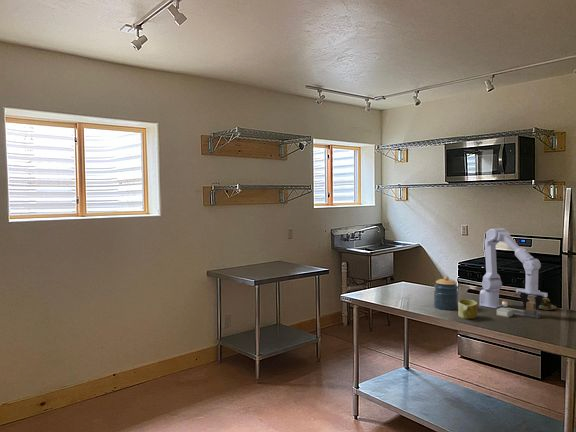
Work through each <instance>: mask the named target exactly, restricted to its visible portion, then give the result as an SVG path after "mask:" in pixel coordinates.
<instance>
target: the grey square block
mask: <svg viewBox="0 0 576 432" xmlns="http://www.w3.org/2000/svg"><path fill="white" fill-rule="evenodd" d="M513 309H514V308H513ZM513 309H507V308H501V307H498V308H495V311H496V312H495V313H496V316H498V317H504V318H510V317H512V316H514V313H513Z"/></svg>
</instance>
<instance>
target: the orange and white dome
mask: <svg viewBox="0 0 576 432" xmlns="http://www.w3.org/2000/svg"><path fill="white" fill-rule="evenodd" d="M508 303H509V302H508V300H501V305H502V306H501V307H503V306H508V307H509V304H508Z"/></svg>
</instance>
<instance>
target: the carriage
mask: <svg viewBox="0 0 576 432" xmlns="http://www.w3.org/2000/svg"><path fill="white" fill-rule="evenodd" d="M535 305H536V302H535V301H530V300H528V301H527V302H526V308H525V309H523V310H524V315H523V317H524V316H525V317H530V318H535V313H536V312H538V311H539V309H538V310H535Z"/></svg>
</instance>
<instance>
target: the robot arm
mask: <svg viewBox="0 0 576 432" xmlns="http://www.w3.org/2000/svg"><path fill="white" fill-rule="evenodd" d="M499 242H503V243H505V244H506V245H507V246H508V247H509V248H510V249H511V250H512V251H513V252H514V256H515V257H516V258H517V259H518V260H519V262H521V263H522V266H523V268H524V272H525V285H524V286H525V287H524V289H523V288H516V289H515V294H519V297H520V299H521V302H522V304H523V309H526V302H528V298H529V296H534V300H535V301H534V302H536V305H535V310H539V305H540V303H541V301H542V299H543V298H548V296H549V295H548V292H545V291H543V292H542V291H539V270H540V269H541V267H542V263H541V262H540V260H539V259H538V258H534V256H532V255H531V254H530V253H529V252H528V250H527V248H524V247H520V246H519V245H518V243H517V242H516V241H515V240H514V238H513V237H512V236H511V234H510V232H509V231H508V230H507V229H506V228H503V227H500V228H490V229H489V230H487V231H486V234H485V239H484V255H485V271H486V272H485V274H484V275H483V276H482V282H481V286H482V289H481V290H480V291H479V304H478V306H481V307H485V308H492V309H499V308H501V307H503V306H502V304H500V303H499V302H500V301H499V300H500V298H499V297H500V293H499V292H500V289H501V288H502V286H503V282H502V279H501V276H500V274H499V273H498V268H497V267H498V266H497V250H496V249H497V245H498V244H499Z"/></svg>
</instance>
